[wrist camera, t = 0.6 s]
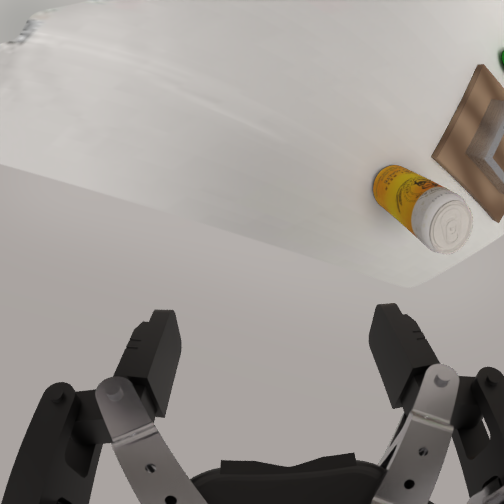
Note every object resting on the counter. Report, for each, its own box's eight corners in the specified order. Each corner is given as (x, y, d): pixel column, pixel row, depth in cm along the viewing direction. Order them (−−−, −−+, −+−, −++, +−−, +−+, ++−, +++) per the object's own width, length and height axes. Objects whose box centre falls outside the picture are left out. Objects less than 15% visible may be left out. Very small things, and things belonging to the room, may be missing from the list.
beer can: (404, 158, 35) (473, 188, 21) (414, 199, 37) (476, 245, 24) (365, 171, 36) (422, 208, 22) (377, 213, 38) (430, 267, 25)
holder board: (477, 64, 28) (483, 64, 26) (533, 138, 31) (538, 140, 30) (431, 156, 35) (436, 158, 33) (493, 219, 38) (498, 223, 37)
